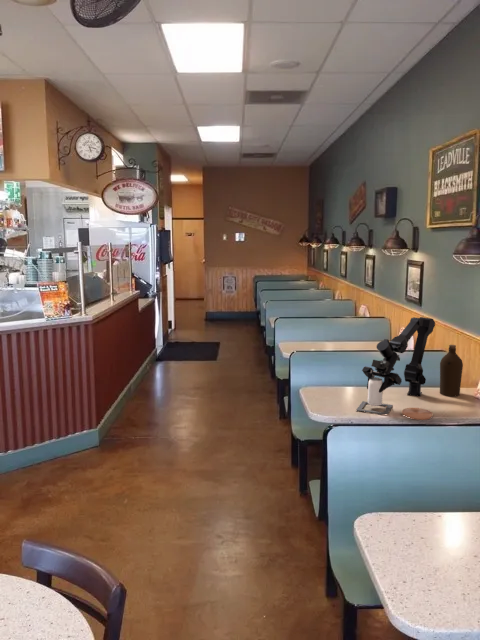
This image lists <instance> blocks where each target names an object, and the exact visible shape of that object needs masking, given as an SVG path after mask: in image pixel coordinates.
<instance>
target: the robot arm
mask: <svg viewBox="0 0 480 640" xmlns="http://www.w3.org/2000/svg"><path fill="white" fill-rule="evenodd" d="M435 326H436V321H434V318H431V317H424V316H420V317H411V318H410V320H409V322H408V324H407V325H406V326H405V328H404V329H403V330H402V331H401V332H400V333H399V335H396V336H394V337H393V338H392V339H391V340H389V338H384V339H383V340H381V341H379V342H378V343H377V344H376V349H377V351H378V352H379V353H380V355H381V357H383V359H382V360H376V359H372V362H371V365H370V366H371V367H370V366H366V365H365V366H363V368H362V370H361V372H363V374H364V376H365V377H367V384H366V389H367V390H368V383H369V380H370V378H372V377H375V376H376V377H378V378H382V379H383V378H384V379H383V384H382V385H381V387H380V389H379V392H380V393H381V392H382V391H383V392H384V391H385V390H387V389H388V388H390V387H391V386H395V385H397V386H398V385H399V386H400V385H402V378H401V377H400V375H399V374H398V373H397V372H393V371H394V370H395V367H394V366H395V364H396V363H397V361H398V362H400V361H401V357H400V355H399V354H404V353H405V351H406V350H407V349H408V345H409V344H408V342H409V341H410V340H411V338H412V337H413V336H414V335H415V333H416V332H417V336H416V341H415V342H414V343H415V344H414V348H413V351H412V352H413V353H412V356H411V361H410V362H409V363H407V364H405V367H404V371H403V377H404V381H405V383H406V382H408V392H407V393H406V395H407V396H412V397H421V396H422V394H423V392H422V391H421V390H422V385H423V386H424V385H425V384H426V381H427V378H426V377H425V375H424V373H423V372H424V368H423V366H422V362H423V358H424V354H425V351H426V345H427V341H428V337H429V336H430V335H431V334H432V333H433V332H434V330H435V329H434V328H435ZM372 367H373V368H374V369H373V368H372Z"/></svg>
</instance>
